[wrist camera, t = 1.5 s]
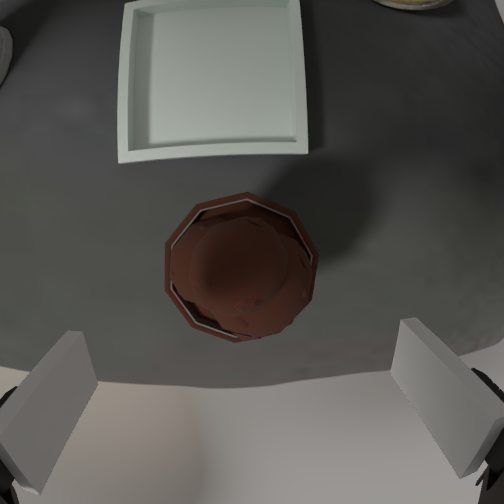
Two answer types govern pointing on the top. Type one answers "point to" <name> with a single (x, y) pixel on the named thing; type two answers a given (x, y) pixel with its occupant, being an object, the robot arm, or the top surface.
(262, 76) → the tray
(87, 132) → the top surface
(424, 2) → the alarm clock
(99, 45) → the top surface
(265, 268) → the ice cream bowl
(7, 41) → the soap bottle
